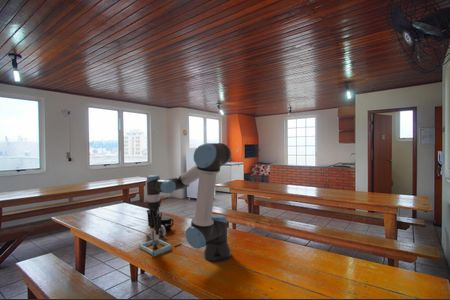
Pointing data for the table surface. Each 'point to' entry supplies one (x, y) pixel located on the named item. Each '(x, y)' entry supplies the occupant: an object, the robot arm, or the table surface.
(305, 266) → the table surface
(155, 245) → the pin
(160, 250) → the tray
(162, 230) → the tensioner block
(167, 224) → the mug
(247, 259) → the table surface
